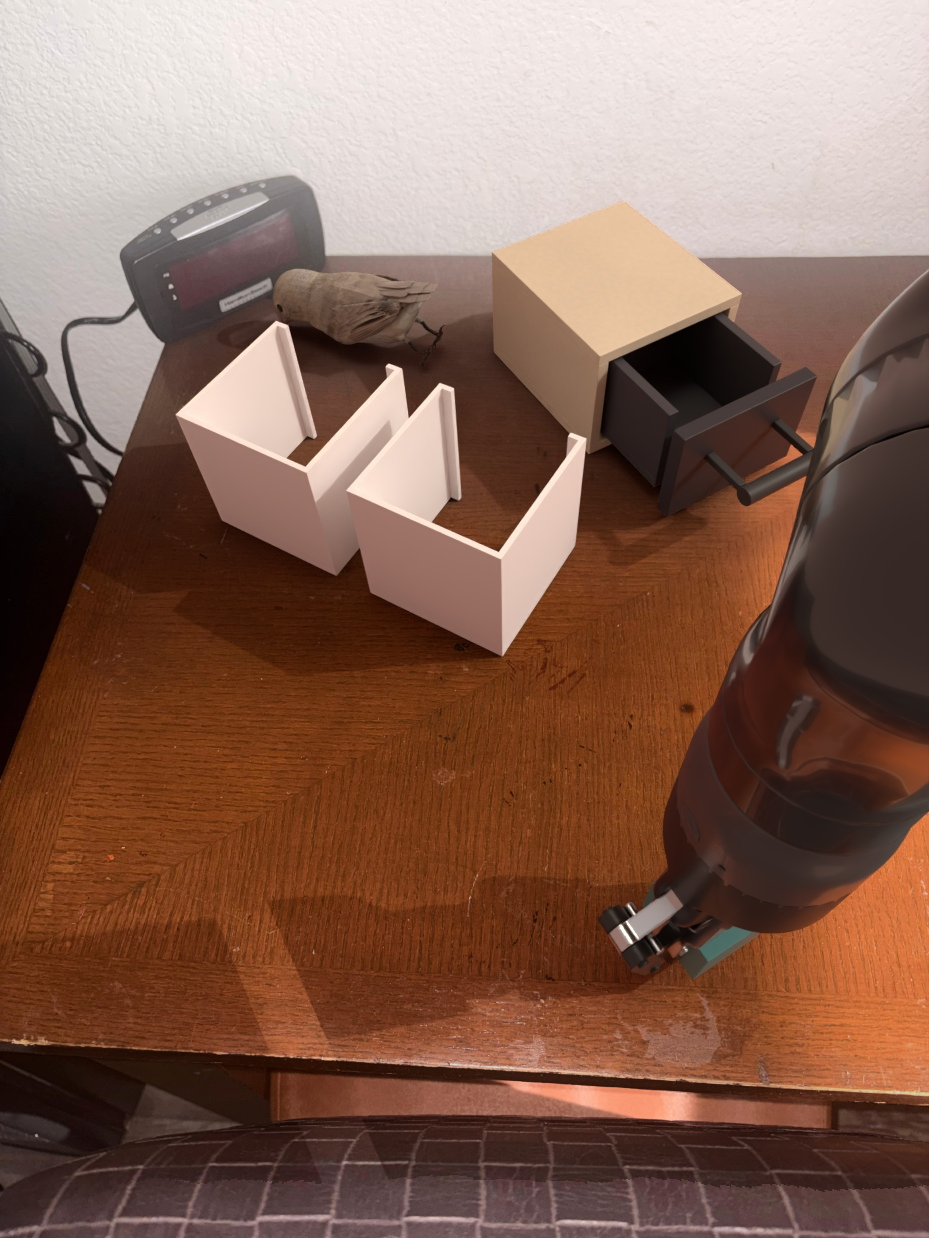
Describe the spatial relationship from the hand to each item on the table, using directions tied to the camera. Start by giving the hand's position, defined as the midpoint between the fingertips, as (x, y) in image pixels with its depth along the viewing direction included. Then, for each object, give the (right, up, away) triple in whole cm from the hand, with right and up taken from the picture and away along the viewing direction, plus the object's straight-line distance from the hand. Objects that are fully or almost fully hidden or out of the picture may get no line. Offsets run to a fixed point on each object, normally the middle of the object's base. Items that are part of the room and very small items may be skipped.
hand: (700, 918), depth 45 cm
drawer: (+5, +29, +21) cm, 36 cm away
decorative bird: (-22, +41, +31) cm, 56 cm away
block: (0, 0, 0) cm, 0 cm away
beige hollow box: (-1, +37, +28) cm, 46 cm away
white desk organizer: (-18, +23, +19) cm, 34 cm away
